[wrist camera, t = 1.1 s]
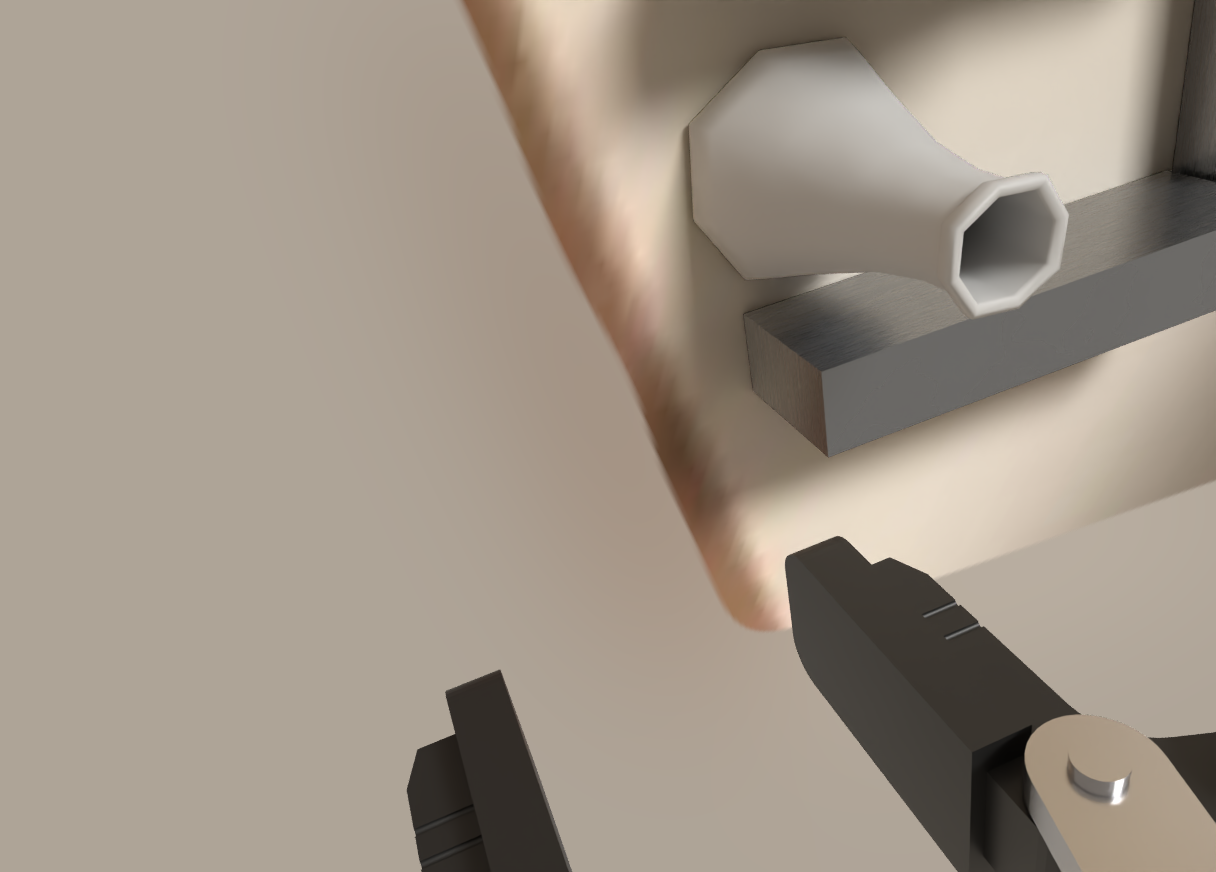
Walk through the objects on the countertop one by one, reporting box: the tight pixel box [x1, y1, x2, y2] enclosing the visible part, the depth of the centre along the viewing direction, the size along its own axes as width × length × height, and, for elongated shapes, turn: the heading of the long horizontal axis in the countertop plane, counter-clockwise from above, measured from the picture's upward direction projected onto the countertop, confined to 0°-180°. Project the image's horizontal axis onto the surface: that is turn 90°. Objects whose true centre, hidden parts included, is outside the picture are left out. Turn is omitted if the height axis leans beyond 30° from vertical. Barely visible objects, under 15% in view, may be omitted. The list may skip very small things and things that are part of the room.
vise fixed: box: [743, 0, 1216, 457], centre depth 27 cm, size 20×19×5 cm
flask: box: [689, 37, 1069, 320], centre depth 24 cm, size 7×7×10 cm
